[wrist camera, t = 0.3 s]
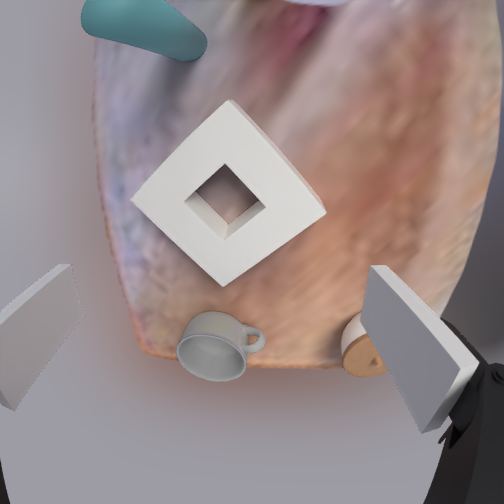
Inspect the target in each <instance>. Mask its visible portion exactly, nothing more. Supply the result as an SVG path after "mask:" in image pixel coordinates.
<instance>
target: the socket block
mask: <svg viewBox="0 0 504 504" xmlns="http://www.w3.org/2000/svg"><path fill="white" fill-rule="evenodd" d="M224 164H226V165H227V166H228V167H229V168H230V169H231V170H232V171H233V172H234V173H235V174H236V175H237V176H238V177H239V179H240V180H241V181H242V182H243V183H244V184H245V185H246V186H247V187H248V188H249V189H250V190H251V191H252V192H253V194H254V195H255V196H256V197H257V198H258V199H259V201H257V202H256V203H255V204H253V205H252V206H251V207H250V208H249V209H247V210H246V211H245V212H244V213H242V214H241V215H240V216H239V217H237V218H236V219H235V220H234V221H232V222H231V223H230V224H229V225H228V224H227V223H226V222H225V221H224V220H223V219H222V218H221V217H220V216H219V215H218V214H217V213H216V212H215V211H214V210H213V209H212V208H211V207H210V206H209V205H208V204H207V203H206V202H205V201H204V200H203V199H202V198H201V197H200V196H199V195H198V194H197V193H196V191H195V190H196V189H197V188H199V187H200V186H201V185H202V184H203V183H204V182H205V181H206V180H207V179H208V178H209V177H210V176H212V175H213V174H214V173H215V172H216V171H217V170H218V169H219V168H220V167H222V166H223V165H224ZM131 201H132V202H133V203H134V204H135V205H136V206H137V207H138V208H139V209H140V210H141V211H142V212H143V213H144V214H145V215H146V216H147V217H148V218H149V219H150V220H151V221H152V222H153V223H154V224H155V225H156V226H157V227H159V228H160V229H161V230H162V231H163V232H164V233H165V234H166V235H167V236H168V237H169V238H170V239H171V240H172V241H173V242H174V243H175V244H176V245H177V246H179V247H180V248H181V249H182V250H183V251H184V252H185V253H186V254H187V255H188V256H189V257H190V258H191V259H193V260H194V261H195V262H196V263H197V264H198V265H199V266H200V267H201V268H202V269H203V270H205V271H206V272H207V273H208V274H209V275H210V276H211V277H212V278H213V279H214V280H216V281H217V282H218V283H219V284H220V285H221V286H222V287H224V286H225V285H227V284H228V283H230V282H231V281H232V280H234V279H235V278H237V277H238V276H240V275H241V274H242V273H244V272H245V271H247V270H248V269H249V268H251V267H252V266H254V265H255V264H257V263H258V262H259V261H261V260H262V259H264V258H265V257H266V256H268V255H269V254H271V253H272V252H273V251H275V250H276V249H278V248H279V247H280V246H282V245H283V244H285V243H286V242H287V241H289V240H290V239H292V238H293V237H294V236H296V235H297V234H299V233H300V232H301V231H303V230H304V229H306V228H307V227H308V226H310V225H311V224H313V223H314V222H315V221H317V220H318V219H319V218H321V217H322V216H324V215H325V214H326V213H327V212H326V210H325V208H324V206H323V203H322V201H321V199H320V198H319V197H318V195H317V194H316V193H315V192H314V190H313V189H312V188H311V187H310V185H309V184H308V183H307V182H306V180H305V179H304V178H303V177H302V176H301V174H300V173H299V172H298V171H297V170H296V168H295V167H294V166H293V165H292V164H291V163H290V161H289V160H288V159H287V158H286V157H285V156H284V154H283V153H282V152H281V151H280V150H279V149H278V147H277V146H276V145H275V144H274V143H273V142H272V141H271V140H270V138H269V137H268V136H267V135H266V134H265V133H264V132H263V131H262V130H261V129H260V127H259V126H258V125H257V124H256V123H255V122H254V121H253V120H252V119H251V118H250V117H249V116H248V115H247V113H246V112H245V111H244V110H243V109H242V108H241V107H240V106H239V105H238V104H237V103H236V102H235V101H234V100H227V101H226V102H225V103H224V104H223V105H221V106H220V107H219V108H218V109H217V110H216V111H215V112H214V113H213V114H212V115H210V116H209V117H208V118H207V119H206V120H205V121H204V122H203V123H202V124H201V125H200V126H199V127H198V128H197V129H196V130H195V131H194V132H193V133H192V134H191V135H189V136H188V137H187V138H186V139H185V140H184V141H183V142H182V143H181V144H180V146H179V147H178V148H177V149H176V150H175V151H174V152H173V153H172V154H171V155H170V156H169V157H168V158H167V159H166V160H165V161H164V162H163V163H162V164H161V165H160V167H159V168H158V169H157V170H156V171H155V172H154V173H153V174H152V175H151V176H150V178H149V179H148V180H147V181H146V182H145V183H144V184H143V185H142V187H141V188H140V189H139V190H138V191H137V192H136V194H135V195H134V196H133V197H132V198H131Z"/></svg>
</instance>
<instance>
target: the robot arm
mask: <svg viewBox="0 0 504 504" xmlns="http://www.w3.org/2000/svg"><path fill="white" fill-rule="evenodd" d="M83 318H84V313H83V310H82V306H81V302H80V298H79V295H78V291H77V287H76V283H75V278H74V274H73V269H72V265H71V264H59V265H57V266H56V267H55V268H53V269H52V270H51V271H49V272H48V273H47V274H45V275H44V276H43V277H41V278H40V279H39V280H38V281H36V282H35V283H34V284H33V285H32V286H30V287H29V288H28V289H26V290H25V291H24V292H23V293H22V294H20V295H19V296H18V297H17V298H15V299H14V300H13V301H12V302H11V303H10V304H8V305H7V306H6V307H5V308H4V309H3V310H1V311H0V403H1V404H2V405H3V406H5V407H7V408H9V409H11V410H13V411H15V410H16V408H17V407H18V405H19V404H20V402H21V401H22V399H23V398H24V396H25V395H26V393H27V392H28V390H29V389H30V387H31V386H32V384H33V383H34V381H35V380H36V379H37V377H38V376H39V375H40V373H41V372H42V370H43V369H44V368H45V366H46V365H47V364H48V362H49V361H50V359H51V358H52V357H53V356H54V354H55V353H56V352H57V350H58V349H59V348H60V346H61V345H62V344H63V342H64V341H65V340H66V339H67V337H68V336H69V335H70V334H71V332H72V331H73V330H74V328H75V327H76V326H77V325H78V324H79V322H80V321H81V320H82V319H83ZM360 322H361V324H362V326H363V327H364V329H365V331H366V333H367V334H368V336H369V338H370V339H371V341H372V343H373V345H374V346H375V348H376V350H377V352H378V353H379V355H380V357H381V359H382V360H383V362H384V364H385V366H386V367H387V369H388V371H389V373H390V375H391V377H392V378H393V380H394V382H395V384H396V386H397V387H398V389H399V391H400V393H401V395H402V397H403V399H404V401H405V403H406V405H407V407H408V408H409V410H410V412H411V414H412V416H413V418H414V420H415V422H416V424H417V426H418V428H419V430H420V432H421V434H422V433H425V432H428V431H431V430H434V429H437V428H439V427H441V425H442V424H443V422H444V421H445V419H446V418H447V417H448V415H449V417H450V418H451V420H452V423H451V425H450V426H449V427H448V429H447V430H446V432H445V433H444V434H443V435H442V437H441V438H440V440H439V442H438V443H439V444H441V442H442V441H443V440H444V439H445V438H446V440H445V443H444V447H443V450H442V454H441V457H440V460H439V463H438V466H437V469H436V472H435V475H434V478H433V481H432V483H431V486H430V489H429V491H428V494H427V496H426V499H425V501H424V503H423V504H504V365H503V364H499V363H494V364H490V365H489V364H488V363H487V362H486V361H485V360H484V358H483V357H482V356H481V355H480V354H479V353H478V352H477V351H476V349H475V348H474V347H473V346H472V345H471V344H470V343H469V342H467V339H466V338H465V337H464V336H463V335H460V332H459V331H458V330H457V329H456V328H455V327H454V326H453V325H452V324H451V323H449V322H447V321H446V320H444V319H442V318H439V317H438V316H437V315H436V314H435V313H434V312H433V311H432V310H431V309H430V308H429V307H428V306H427V305H426V304H425V303H424V302H423V301H422V300H421V299H420V298H419V297H418V296H417V295H416V294H415V293H414V292H413V291H412V290H411V289H410V288H409V287H408V286H407V285H406V284H405V283H404V282H403V281H402V280H401V279H400V278H399V277H398V276H397V275H396V274H395V273H394V272H392V271H391V270H390V269H389V268H388V267H387V266H386V265H370V270H369V276H368V282H367V287H366V293H365V298H364V303H363V307H362V312H361V317H360ZM0 504H10V501H9V498H8V494H7V490H6V486H5V481H4V477H3V472H2V466H1V462H0Z"/></svg>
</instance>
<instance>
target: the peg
mask: <svg viewBox="0 0 504 504" xmlns="http://www.w3.org/2000/svg"><path fill="white" fill-rule="evenodd" d="M81 24H82V27H83V29H84V30H85V31H86V33H88V34H89V35H92V36H95V37H99V38H104V39H108V40H112V41H116V42H120V43H124V44H128V45H132V46H135V47H139V48H142V49H145V50H149V51H152V52H155V53H158V54H161V55H164V56H167V57H170V58H173V59H176V60H179V61H182V62H190V61H193V60H195V59H197V58H199V57H200V56H201V55H202V54H203V53H204V51H205V50H206V47H207V39H206V36H205V35H204V33H203V32H202V31H201V30H199V29H198V28H197V27H196V26H195V25H194V24H193V23H191V22H190V21H189V20H188V19H187V18H186V17H184V16H183V15H182V14H181V13H180V12H178V11H177V10H176V9H175V8H173V7H172V6H171V5H170V4H168V3H167V2H166V1H165V0H87V1H86V2H85V4H84V6H83V9H82V13H81Z"/></svg>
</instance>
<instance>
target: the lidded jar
mask: <svg viewBox="0 0 504 504" xmlns="http://www.w3.org/2000/svg"><path fill="white" fill-rule="evenodd" d="M360 317H361V312H360V313H358V314H357V315H355V316H354V317H353V318H352V319H351V321H350V322H349V323H348V324H347V326H346V328H345V329H344V331H343V334H342V338H341V354H342V364H343V368H344V370H345V371H346V372H347V373H349V374H350V375H353V376H356V377H371V376H376V375H379V374H382V373H385V372H387V371H388V369H387V367H386V366H385V364H384V362H383V360H382V359H381V357H380V355H379V353H378V352H377V350H376V348H375V346H374V345H373V343H372V341H371V339H370V338H369V336H368V334H367V333H366V331H365V329H364V327H363V326H362V324H361V322H360Z"/></svg>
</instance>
